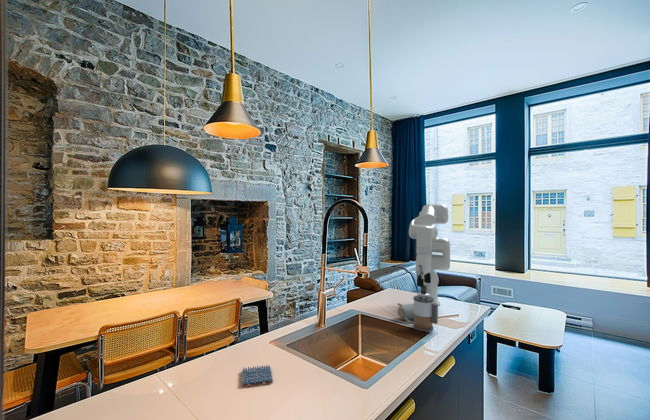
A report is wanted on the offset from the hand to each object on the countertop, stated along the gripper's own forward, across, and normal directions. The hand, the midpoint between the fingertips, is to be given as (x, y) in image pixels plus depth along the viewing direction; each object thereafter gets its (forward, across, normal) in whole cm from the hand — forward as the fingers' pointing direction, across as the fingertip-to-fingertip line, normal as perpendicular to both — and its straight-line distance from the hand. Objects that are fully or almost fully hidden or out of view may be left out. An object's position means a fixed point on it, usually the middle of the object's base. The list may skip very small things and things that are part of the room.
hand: (423, 284), depth 148 cm
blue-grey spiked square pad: (+21, +83, -27) cm, 90 cm away
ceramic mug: (+22, -5, -10) cm, 25 cm away
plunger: (+13, +1, 0) cm, 13 cm away
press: (+22, +1, 0) cm, 22 cm away
